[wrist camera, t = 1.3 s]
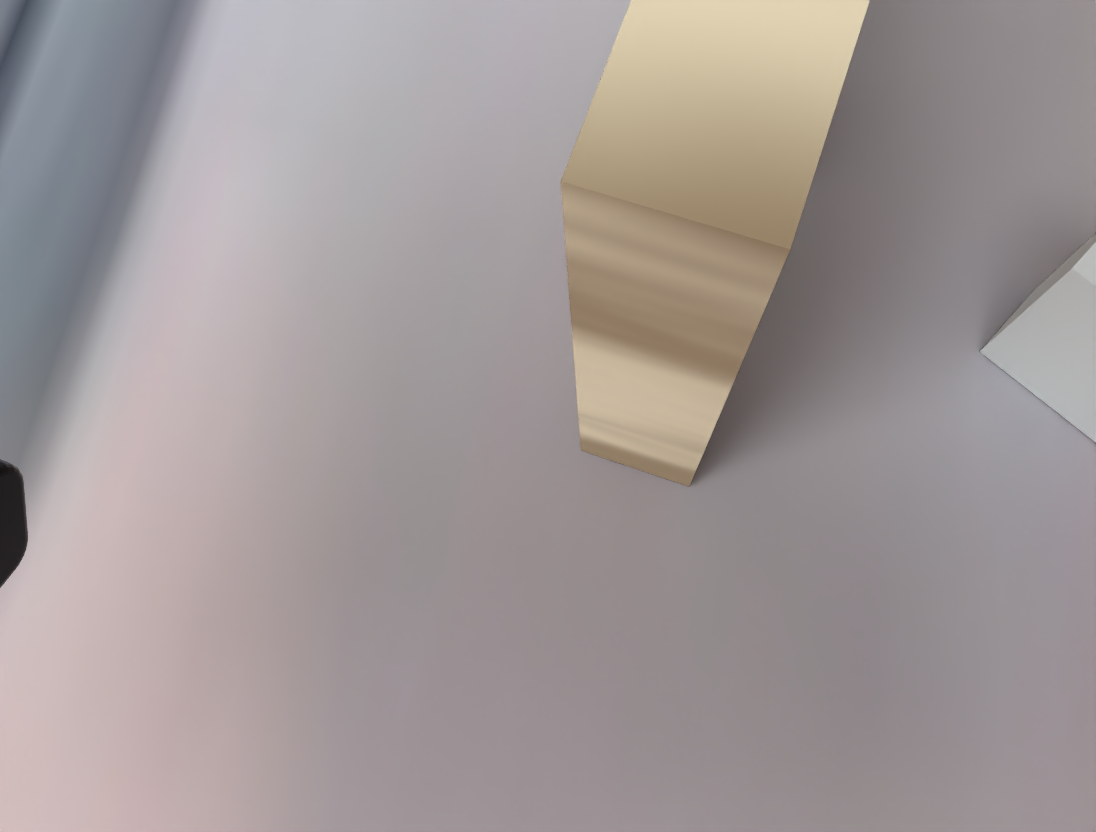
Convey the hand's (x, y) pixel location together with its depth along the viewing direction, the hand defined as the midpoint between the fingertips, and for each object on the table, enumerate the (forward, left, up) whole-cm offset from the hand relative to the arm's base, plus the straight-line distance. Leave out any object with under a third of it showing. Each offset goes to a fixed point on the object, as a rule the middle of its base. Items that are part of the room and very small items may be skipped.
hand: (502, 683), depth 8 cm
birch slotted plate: (+4, +10, -13) cm, 17 cm away
